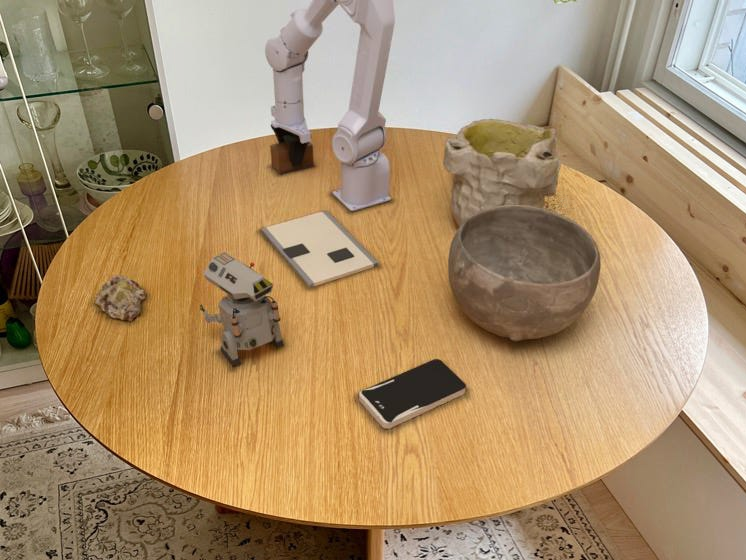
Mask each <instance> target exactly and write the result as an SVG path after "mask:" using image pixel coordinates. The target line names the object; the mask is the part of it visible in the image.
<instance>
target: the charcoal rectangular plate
mask: <svg viewBox="0 0 746 560" xmlns="http://www.w3.org/2000/svg"><path fill="white" fill-rule="evenodd" d="M327 255H328V256H329V257H330V258H331V259H332V260H333V261H334V262H335V263H337V262H340V261H343V260H346V259H349V258H353V257H354V255H353V254H352V253H351V252H350V251H349V250H348V249H347V248H343V249H340V250H336V251H333V252H330V253H327Z"/></svg>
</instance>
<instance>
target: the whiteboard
mask: <svg viewBox="0 0 746 560" xmlns="http://www.w3.org/2000/svg"><path fill="white" fill-rule="evenodd" d="M260 231H261V234H262V235H263V236H264V237H265V238H266V239H267V241H268V242H269V243H270V244H271V246H273V248H274V249H275V251H277V252H278V254H280V256H281V257H282V258H283V259H284V261H285V262H286V263H287V264H288V265H289V266H290V268H291V269H292V270H293V271H294V272H295V273H296V275H297V276H298V277H299V278H300V279H301V280H302V281H303V283H304V284H305V285H306V286H307V288H309V289H311V288H315V287H318V286H320V285H324V284H326V283H330V282H332V281H335V280H339V279H342V278H344V277H347V276H351V275H355V274H357V273H360V272H364V271H367V270H369V269H373V268H376V267H378V266H379V261H377V260H376V259H375V257H374V256H372V254H371V253H370V252H369V251H368V250H367V249H366V248H365V247H364V246H362V244H361V243H360V242H358V240H357V239H356V238H354V236H353V235H351V233H349V231H348V230H346V228H345V227H344V226H343V225H342V224H341V223H339V221H338V220H337V219H336V218H335V217H333V215H332V214H331V213H330V212H328V211H327V210H326V209H325V210H322V211H318V212H315V213H312V214H308V215H304V216H301V217H298V218H294V219H291V220H287V221H284V222H279V223H277V224H272V225H270V226H265V227H262V228H261V229H260ZM302 243H303V245H304V246H305V247H306V248H307V249H308V250H309V251H310V253H307V254H304V255H300V256H297V257H294V258H289V257H288V255H287V254H286V253H285V252H284V251H283V249H284V248H288V247H291V246H295V245H298V244H302ZM343 248H347V249H348V250H349V251H350V252H351V253H352V254H353V255H354V257H353V258H349V259H346V260H343V261H340V262H337V263H335V262H334V261H333V260H332V259H331V258H330V257H329V256H328V255H327V253H330V252H333V251H336V250H340V249H343Z"/></svg>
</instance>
